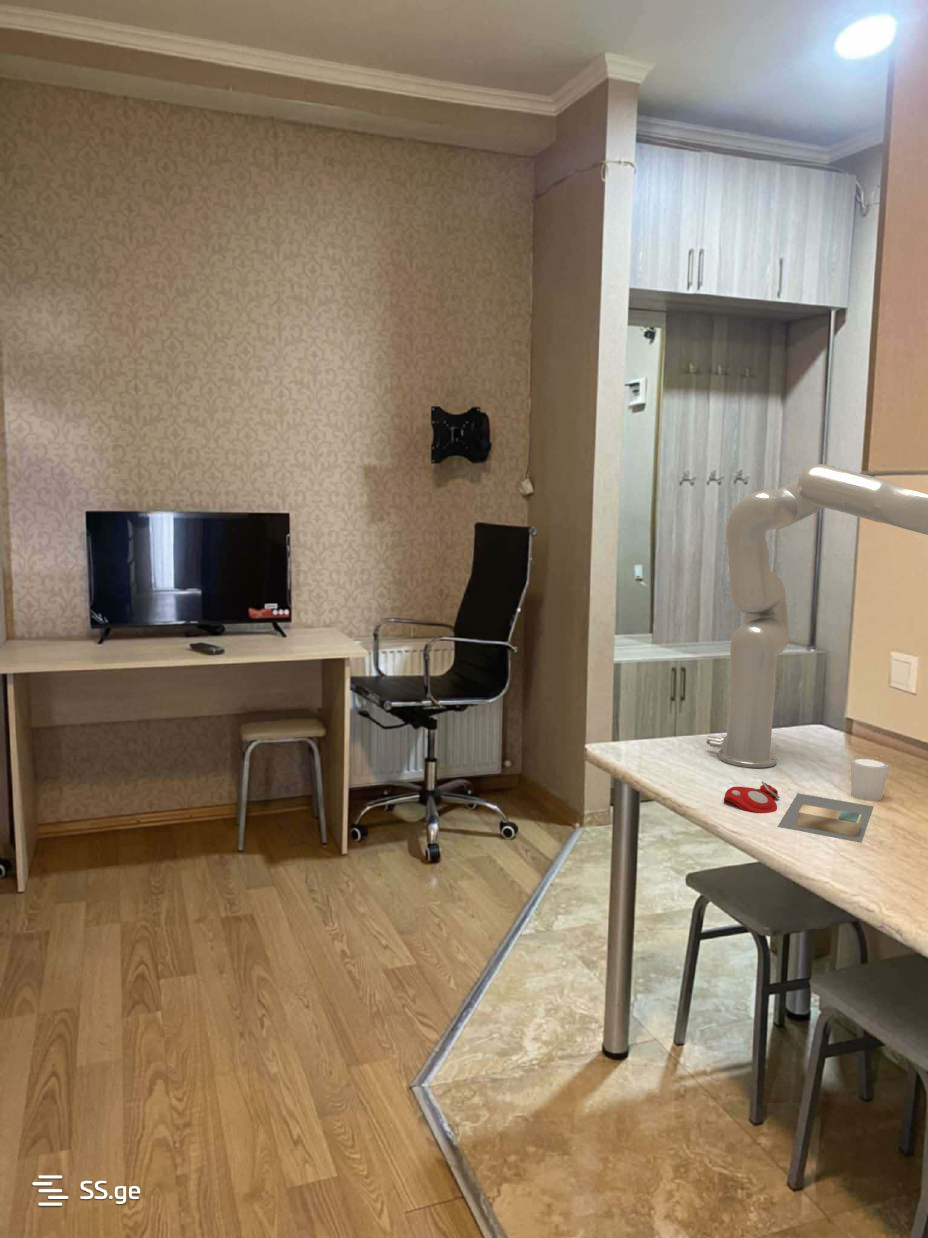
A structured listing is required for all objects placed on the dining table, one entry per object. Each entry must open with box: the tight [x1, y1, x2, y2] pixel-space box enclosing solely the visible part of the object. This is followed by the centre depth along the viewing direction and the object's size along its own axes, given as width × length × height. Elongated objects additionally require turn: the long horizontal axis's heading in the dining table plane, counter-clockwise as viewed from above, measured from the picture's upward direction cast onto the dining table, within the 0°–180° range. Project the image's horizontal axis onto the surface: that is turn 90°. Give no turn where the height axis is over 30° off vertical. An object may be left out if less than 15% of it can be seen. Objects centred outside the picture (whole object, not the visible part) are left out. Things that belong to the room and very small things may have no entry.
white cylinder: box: [850, 757, 889, 802], centre depth 191 cm, size 7×7×7 cm
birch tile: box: [797, 805, 861, 837], centre depth 171 cm, size 10×5×3 cm, turn 62°
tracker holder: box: [723, 781, 781, 814], centre depth 184 cm, size 12×4×10 cm
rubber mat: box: [777, 793, 874, 844], centre depth 177 cm, size 14×22×1 cm, turn 152°
